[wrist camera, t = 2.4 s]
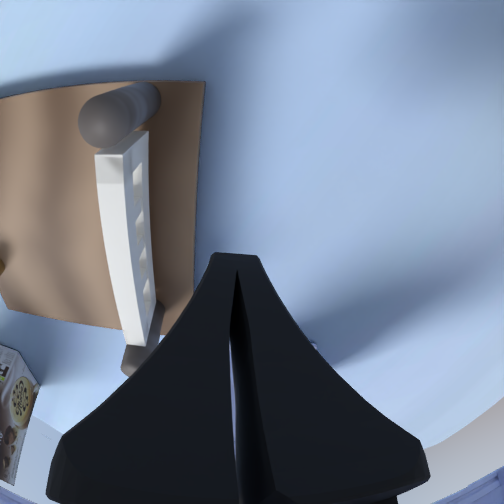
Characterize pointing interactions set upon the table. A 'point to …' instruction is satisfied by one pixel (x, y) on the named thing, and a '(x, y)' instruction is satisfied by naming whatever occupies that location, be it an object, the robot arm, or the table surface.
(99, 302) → the board
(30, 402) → the coffee box
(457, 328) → the table surface
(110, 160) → the gate
